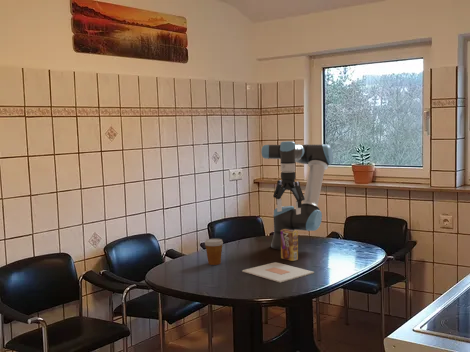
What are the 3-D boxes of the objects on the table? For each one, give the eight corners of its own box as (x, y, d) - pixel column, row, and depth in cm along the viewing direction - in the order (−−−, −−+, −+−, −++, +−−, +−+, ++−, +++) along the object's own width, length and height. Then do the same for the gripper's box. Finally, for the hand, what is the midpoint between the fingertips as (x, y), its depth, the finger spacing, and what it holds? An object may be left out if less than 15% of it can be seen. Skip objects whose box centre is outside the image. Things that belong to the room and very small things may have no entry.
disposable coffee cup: (209, 260, 287) (208, 238, 286) (226, 261, 284) (225, 238, 282) (202, 265, 278) (201, 241, 277) (219, 266, 275) (219, 242, 274)
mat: (242, 271, 264) (242, 270, 264) (275, 263, 278) (275, 261, 278) (280, 282, 244) (280, 280, 244) (313, 273, 258) (313, 271, 258)
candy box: (298, 259, 283) (298, 230, 282) (292, 261, 281) (292, 231, 279) (286, 257, 290) (286, 228, 289) (280, 258, 287) (280, 229, 286)
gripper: (266, 171, 288) (266, 211, 290) (300, 173, 269) (301, 216, 271) (276, 170, 293) (277, 209, 295) (311, 172, 274) (311, 214, 276)
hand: (288, 212), depth 283 cm, fingers open, 13 cm apart
